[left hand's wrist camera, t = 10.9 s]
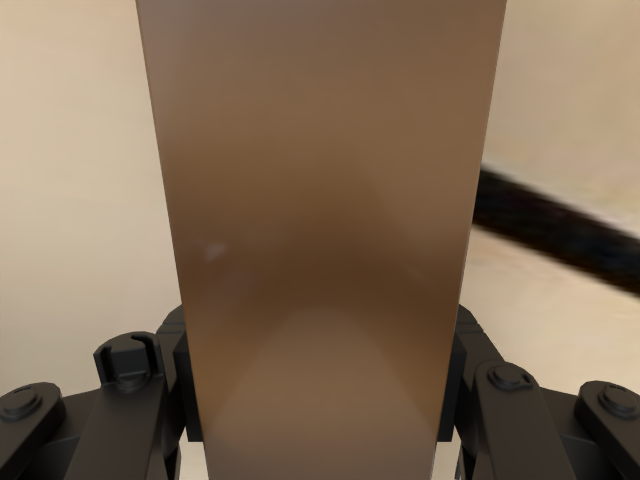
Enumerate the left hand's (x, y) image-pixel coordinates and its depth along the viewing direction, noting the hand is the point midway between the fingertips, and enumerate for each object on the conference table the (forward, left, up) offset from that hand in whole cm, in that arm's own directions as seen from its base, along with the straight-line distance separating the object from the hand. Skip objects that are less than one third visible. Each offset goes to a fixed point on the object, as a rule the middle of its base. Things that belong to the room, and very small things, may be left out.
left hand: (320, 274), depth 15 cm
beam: (+15, +26, -1) cm, 30 cm away
